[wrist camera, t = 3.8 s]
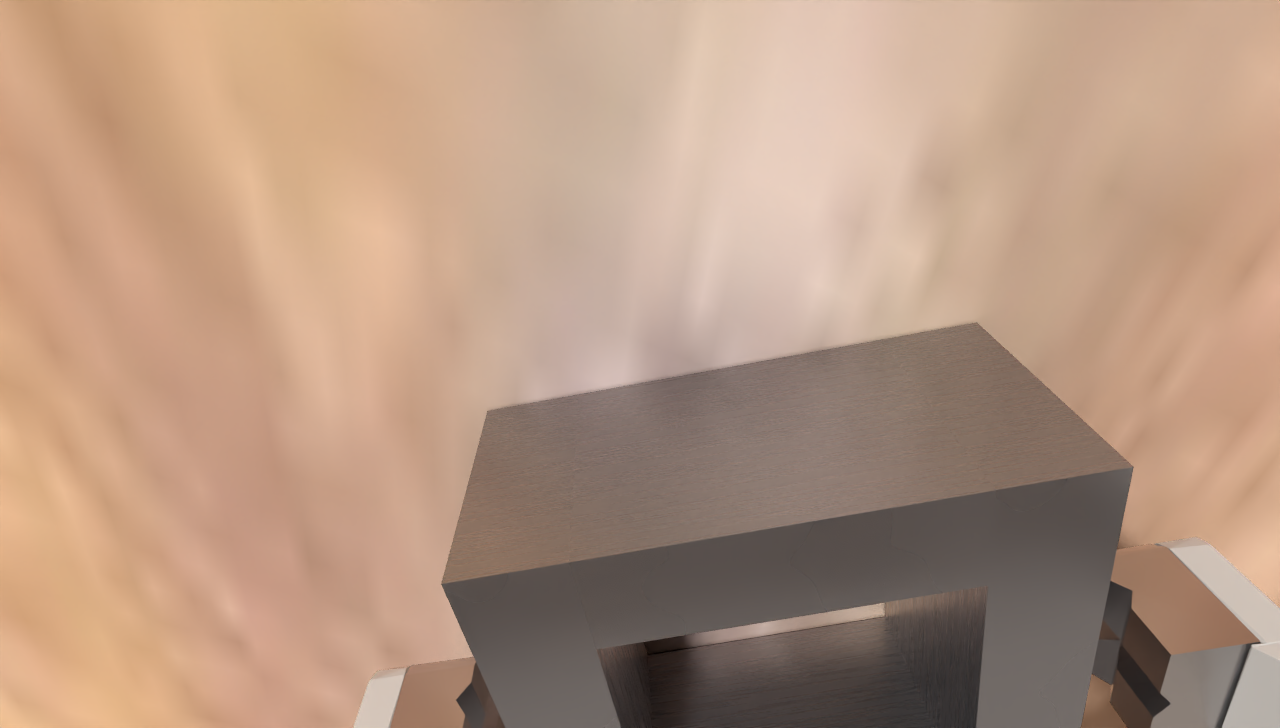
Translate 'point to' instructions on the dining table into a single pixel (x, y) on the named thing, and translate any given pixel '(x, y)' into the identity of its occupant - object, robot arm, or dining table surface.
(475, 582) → the hollow square frame
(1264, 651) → the robot arm
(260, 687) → the dining table surface
